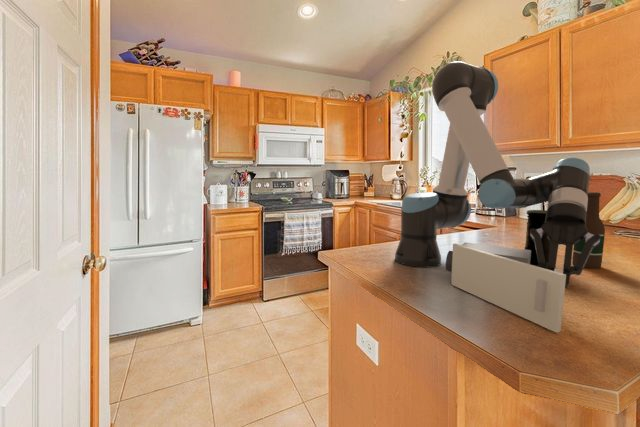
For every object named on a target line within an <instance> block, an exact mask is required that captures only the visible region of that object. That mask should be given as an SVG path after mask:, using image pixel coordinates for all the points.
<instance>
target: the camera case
mask: <svg viewBox="0 0 640 427" xmlns="http://www.w3.org/2000/svg"><path fill="white" fill-rule="evenodd" d="M461 245H463V246H466V247H470V248H473V249H477V250H480V251H484V252H488V253H491V254H495V255H498V256H502V257H505V258H509V259H512V260H516V261H520V262H523V263H527V264H530V259H531V250H525V249H524V248H514V247H507V246H506V247H505V246H498V245H489V244H483V243H482V244H481V243H473V242H464V243H461ZM452 254H453V250H449V251H448V252H447V255H446V257H445V269H446V272H447V273H452Z"/></svg>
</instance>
